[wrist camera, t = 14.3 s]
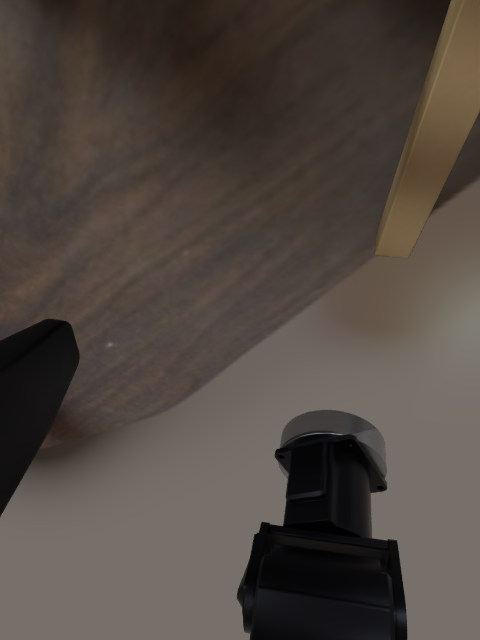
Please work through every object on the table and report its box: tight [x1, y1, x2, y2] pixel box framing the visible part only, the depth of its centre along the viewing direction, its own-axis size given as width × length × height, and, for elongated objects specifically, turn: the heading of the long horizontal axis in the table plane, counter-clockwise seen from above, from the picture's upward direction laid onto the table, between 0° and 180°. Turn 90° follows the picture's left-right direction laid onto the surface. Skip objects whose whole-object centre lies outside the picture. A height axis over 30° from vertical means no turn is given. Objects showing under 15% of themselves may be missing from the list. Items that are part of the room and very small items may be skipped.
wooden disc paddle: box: [375, 0, 480, 258], centre depth 13 cm, size 16×5×7 cm, turn 0°
